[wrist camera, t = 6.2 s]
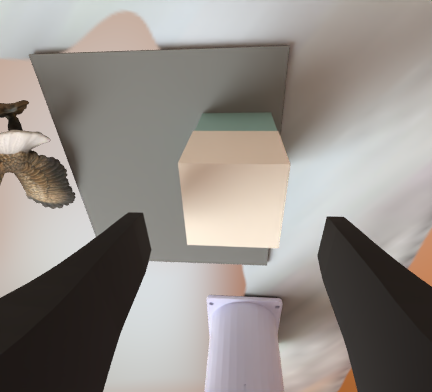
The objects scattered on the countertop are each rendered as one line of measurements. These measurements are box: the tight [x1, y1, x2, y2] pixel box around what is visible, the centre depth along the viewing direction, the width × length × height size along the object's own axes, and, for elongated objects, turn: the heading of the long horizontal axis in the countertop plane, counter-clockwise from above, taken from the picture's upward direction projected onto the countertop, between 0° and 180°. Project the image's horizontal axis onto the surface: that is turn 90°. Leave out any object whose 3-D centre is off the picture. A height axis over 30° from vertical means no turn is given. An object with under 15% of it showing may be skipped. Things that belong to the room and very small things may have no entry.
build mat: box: [29, 46, 289, 265], centre depth 21 cm, size 18×16×1 cm
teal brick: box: [195, 112, 277, 131], centre depth 17 cm, size 4×4×4 cm
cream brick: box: [178, 131, 290, 248], centre depth 13 cm, size 4×4×4 cm
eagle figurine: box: [0, 100, 75, 209], centre depth 18 cm, size 8×8×10 cm
